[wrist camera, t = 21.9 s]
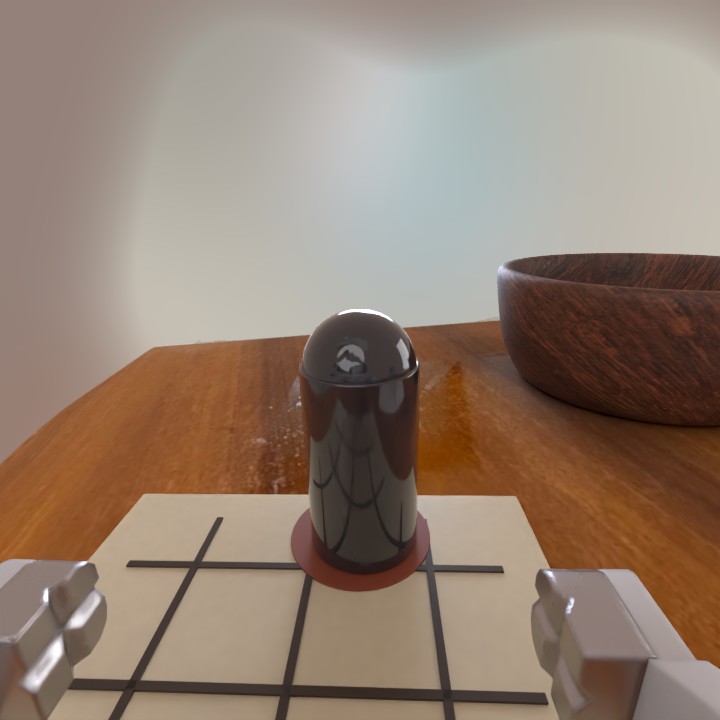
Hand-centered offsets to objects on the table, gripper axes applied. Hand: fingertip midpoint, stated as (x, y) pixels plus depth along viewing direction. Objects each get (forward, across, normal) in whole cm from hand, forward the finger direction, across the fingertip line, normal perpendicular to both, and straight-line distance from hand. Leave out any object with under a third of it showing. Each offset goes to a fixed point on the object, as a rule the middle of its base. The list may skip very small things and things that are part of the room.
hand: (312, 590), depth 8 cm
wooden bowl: (+32, -24, +9) cm, 41 cm away
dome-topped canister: (+10, 0, +8) cm, 13 cm away
